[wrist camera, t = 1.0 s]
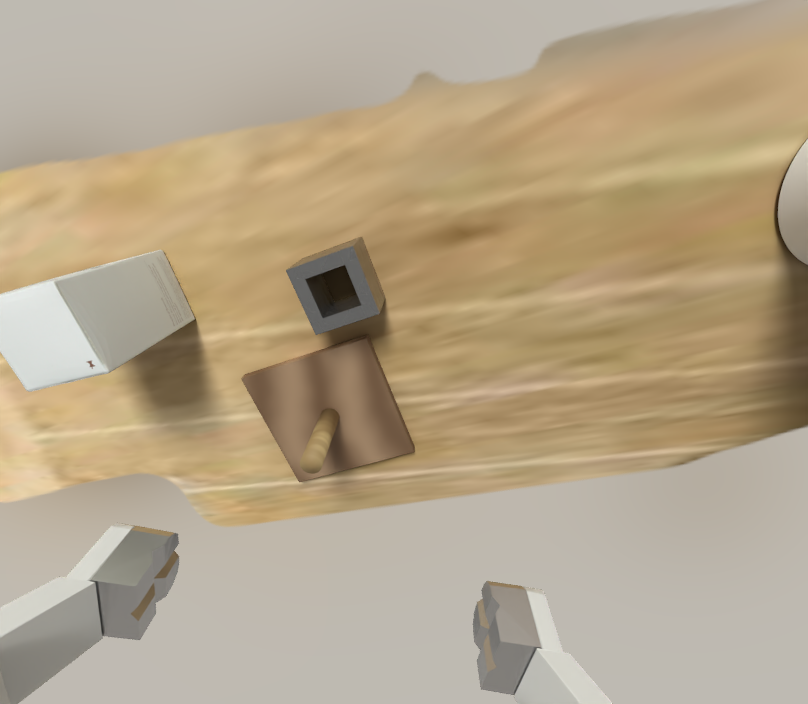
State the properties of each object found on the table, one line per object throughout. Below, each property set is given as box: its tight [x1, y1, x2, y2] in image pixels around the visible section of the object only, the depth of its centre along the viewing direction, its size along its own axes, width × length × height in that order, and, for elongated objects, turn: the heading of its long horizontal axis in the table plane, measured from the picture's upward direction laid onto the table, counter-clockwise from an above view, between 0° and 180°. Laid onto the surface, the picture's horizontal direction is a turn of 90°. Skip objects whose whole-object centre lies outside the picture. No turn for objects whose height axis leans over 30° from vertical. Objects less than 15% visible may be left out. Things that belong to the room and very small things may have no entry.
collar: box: [286, 237, 385, 335], centre depth 38 cm, size 6×6×5 cm
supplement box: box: [0, 250, 195, 391], centre depth 36 cm, size 7×7×13 cm
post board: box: [241, 335, 414, 482], centre depth 42 cm, size 14×14×9 cm
